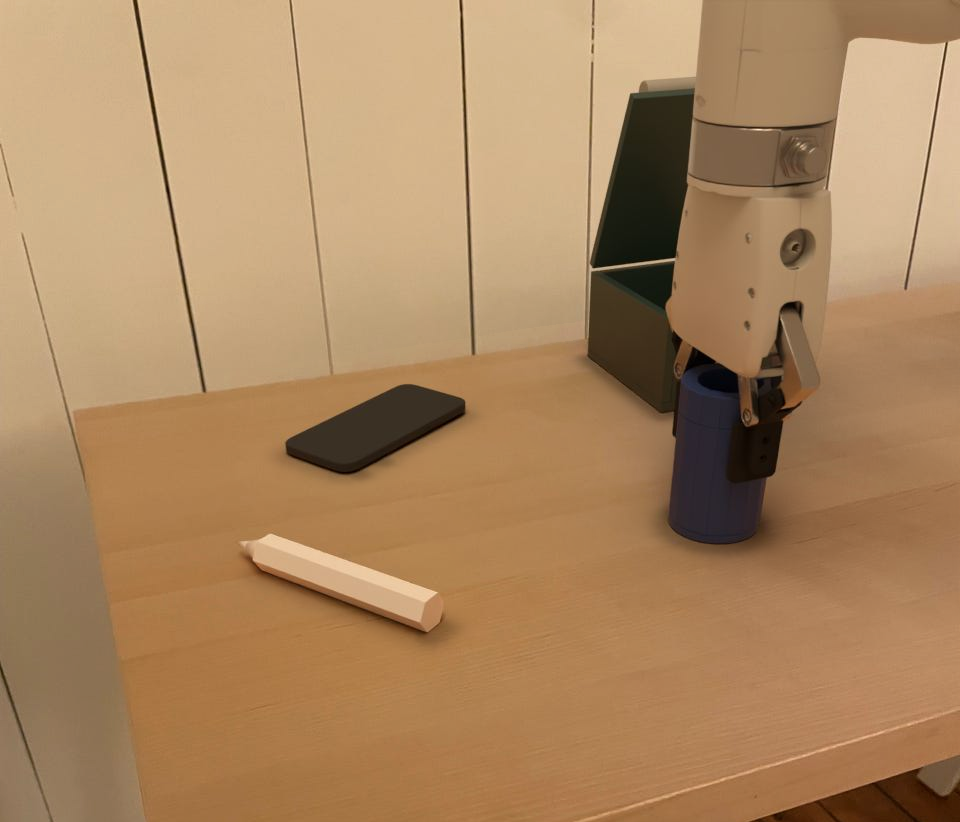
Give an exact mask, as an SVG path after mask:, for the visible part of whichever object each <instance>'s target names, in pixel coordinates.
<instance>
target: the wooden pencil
mask: <svg viewBox="0 0 960 822" xmlns="http://www.w3.org/2000/svg"><path fill="white" fill-rule="evenodd" d="M235 543H236V544H237V545H238V546H239V547H241V548H242V550H244V551H245V552H246V553H248V555H249V556H250V557H251V559H252V562H253V563H254V564H255V565H256V566H257V567H258V568H259V569H260V570H261V571H263V572H264V573H265V572H266V573H268V574H271V575H273V576H276V577H278V578H281V579H284V580H287V581H289V582H292V583H295V584H297V585H300V586H302V587H305V588H307V589H310V590H313V591H315V592H319V593H321V594H324V595H326V596H328V597H332V598H334V599H336V600H339V601H342V602H345V603H348V604H350V605H353V606H355V607H357V608H360V609H363V610H366V611H369V612H372V613H374V614H377V615H380V616H382V617H385V618H387V619H390V620H392V621H395V622H398V623H401V624H403V625H405V626H407V627H410V628H414V629H416V630H419V631H421V632H424V633H429V632H430V631H431V630H433V629H434V628H435V627H436V626H438V625H439V624H440V622H441V619H442V615H443V612H444V609H445V608H444V607H445V604H446V602H445V600H444V599H443V598H442V596H441V595H440V593H439V592H437V591H435V590H432V589H430V588H426V587H424V586H421V585H418V584H415V583H412V582H409V581H407V580H404V579H401V578H398V577H395V576H392V575H390V574H386V573H384V572H381V571H378V570H375V569H372V568H370V567H367V566H364V565H361V564H359V563H355V562H352V561H350V560H347V559H344V558H341V557H339V556H336V555H333V554H330V553H327V552H325V551H322V550H319V549H316V548H313V547H310V546H308V545H305V544H301V543H299V542H297V541H293V540H290V539H286V538H284V537H281V536H278V535H276V534H273V533H268V534H266V535H265V536H264V537H262V538H259V539H253V540H240V541H239V540H238V541H235Z"/></svg>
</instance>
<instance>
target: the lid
mask: <svg viewBox="0 0 960 822" xmlns="http://www.w3.org/2000/svg"><path fill="white" fill-rule="evenodd" d="M695 82H696V76H685V77H684V76H683V77H673V78H672V77H671V78H659V79H658V78H657V79H646V80H645V79H644V80H642V81H641V82H640V84H639V87H638V92H630V93H629V96H628V101H627V104H626V109H625V113H624V117H623V121H622V125H621V126H622V127H621V130H620V134H619V139H618V142H617V147H616V151H615V154H614V155H615V156H614V159H613V163H612V167H611V172H610V176H609V181H608V185H607V189H606V193H605V197H604V201H603V205H602V209H601V214H600V217H599V222H598V226H597V231H596V235H595V239H594V242H593V247H592V251H591V256H590V260H589V265H590V266H591V269H601V268H609V267H617V266H625V265H632V264H639V263H641V264H642V263H648V262H655V261H662V260H663V261H664V260H672V259H675V258H676V251H677V244H678V237H679V230H680V224H681V218H682V213H683V208H684V203H685V198H686V193H687V189H688V183H687V172H688V163H689V151H690V140H691V129H692V118H693V105H694V94H695Z"/></svg>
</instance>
